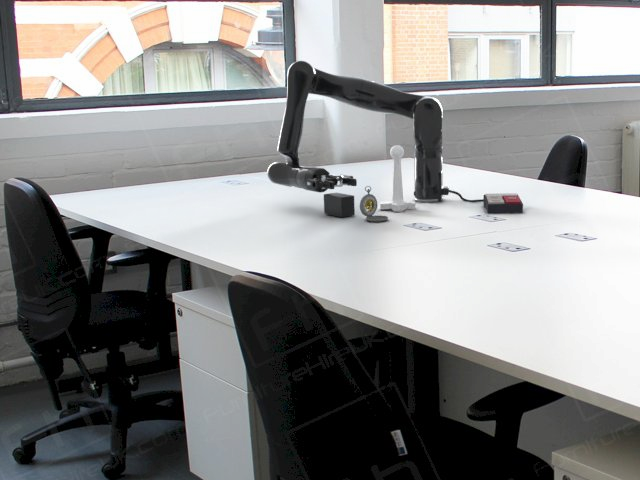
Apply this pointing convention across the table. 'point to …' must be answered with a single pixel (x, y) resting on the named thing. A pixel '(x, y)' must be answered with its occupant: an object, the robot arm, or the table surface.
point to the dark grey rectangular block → (339, 204)
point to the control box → (503, 203)
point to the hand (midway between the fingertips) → (344, 184)
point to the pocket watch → (371, 210)
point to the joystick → (397, 184)
